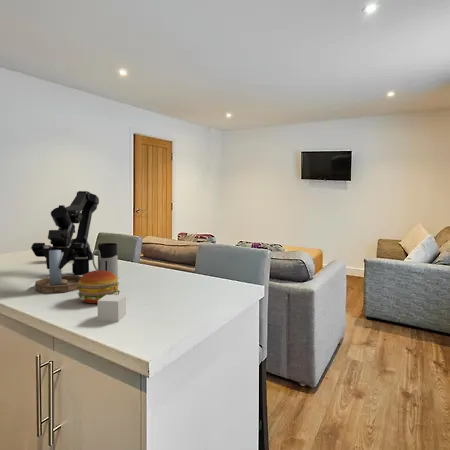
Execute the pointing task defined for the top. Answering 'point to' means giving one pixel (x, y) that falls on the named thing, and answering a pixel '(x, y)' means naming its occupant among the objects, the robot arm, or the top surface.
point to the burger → (97, 285)
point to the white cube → (112, 308)
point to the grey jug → (107, 258)
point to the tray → (67, 285)
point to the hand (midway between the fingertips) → (53, 268)
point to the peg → (55, 268)
